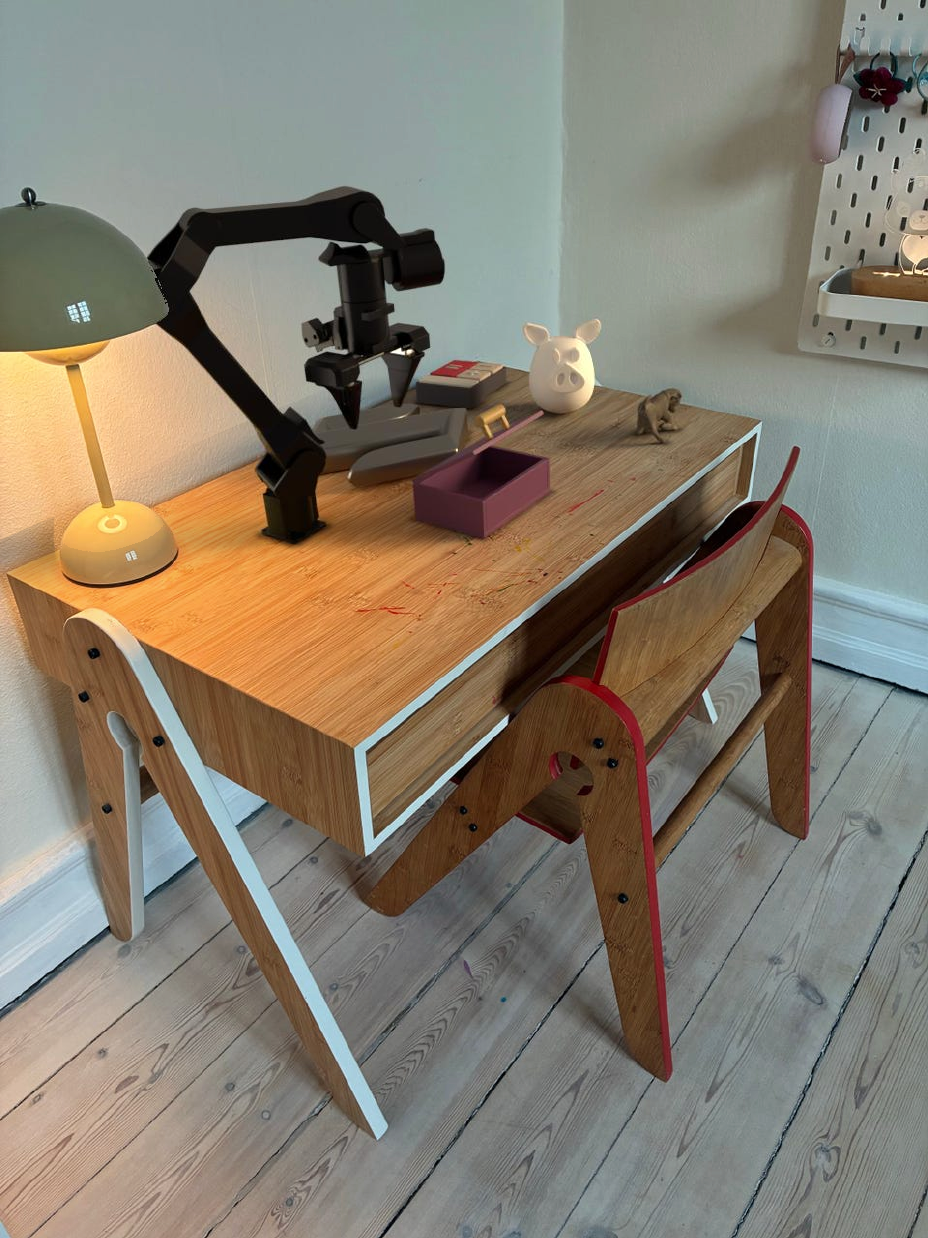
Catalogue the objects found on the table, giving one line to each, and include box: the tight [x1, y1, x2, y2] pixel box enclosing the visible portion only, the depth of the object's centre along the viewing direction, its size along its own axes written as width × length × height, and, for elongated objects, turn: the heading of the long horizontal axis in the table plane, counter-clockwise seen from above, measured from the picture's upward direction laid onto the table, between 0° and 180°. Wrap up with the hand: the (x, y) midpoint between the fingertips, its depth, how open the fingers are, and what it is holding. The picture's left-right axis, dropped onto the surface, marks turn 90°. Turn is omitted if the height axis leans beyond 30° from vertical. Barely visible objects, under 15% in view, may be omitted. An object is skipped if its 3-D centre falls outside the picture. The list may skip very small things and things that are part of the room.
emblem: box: [311, 403, 469, 488], centre depth 150 cm, size 28×5×28 cm
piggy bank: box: [522, 318, 602, 414], centre depth 160 cm, size 12×12×15 cm
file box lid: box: [411, 404, 544, 485], centre depth 129 cm, size 12×16×4 cm
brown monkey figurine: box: [635, 387, 683, 444], centre depth 152 cm, size 12×6×7 cm, turn 145°
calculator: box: [415, 359, 507, 409], centre depth 173 cm, size 11×4×15 cm
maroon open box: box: [412, 445, 551, 539], centre depth 133 cm, size 11×16×5 cm
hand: (376, 417), depth 129 cm, fingers open, 9 cm apart
